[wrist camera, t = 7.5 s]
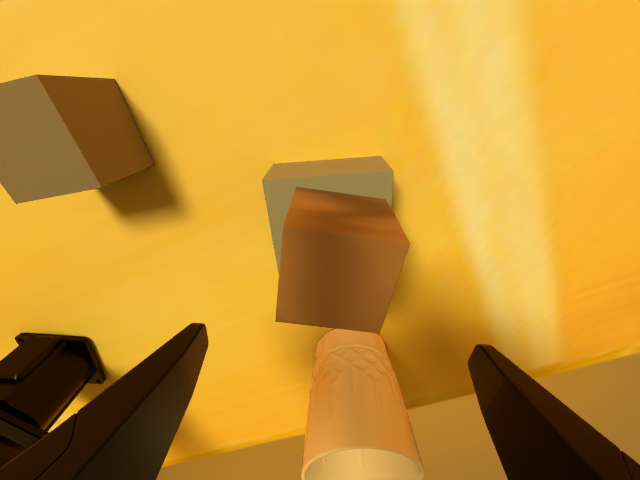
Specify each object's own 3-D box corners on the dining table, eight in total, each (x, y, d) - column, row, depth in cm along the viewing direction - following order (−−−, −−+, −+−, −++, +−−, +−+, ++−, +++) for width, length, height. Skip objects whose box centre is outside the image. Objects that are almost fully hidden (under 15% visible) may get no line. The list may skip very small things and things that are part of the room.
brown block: (155, 164, 18) (101, 187, 14) (88, 177, 19) (16, 203, 14) (115, 78, 16) (36, 74, 12) (40, 96, 17) (-63, 98, 12)
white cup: (399, 366, 27) (434, 496, 19) (325, 382, 29) (325, 510, 20) (380, 310, 24) (411, 437, 15) (296, 332, 25) (281, 459, 17)
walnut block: (385, 199, 15) (409, 243, 11) (366, 272, 18) (379, 333, 13) (295, 186, 15) (283, 226, 11) (288, 263, 17) (275, 321, 13)
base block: (377, 247, 21) (387, 279, 18) (288, 252, 22) (280, 284, 18) (380, 155, 18) (393, 170, 14) (274, 162, 18) (262, 180, 15)
